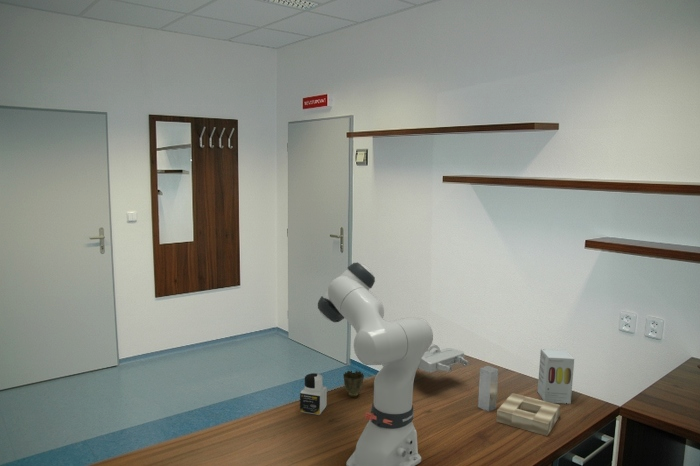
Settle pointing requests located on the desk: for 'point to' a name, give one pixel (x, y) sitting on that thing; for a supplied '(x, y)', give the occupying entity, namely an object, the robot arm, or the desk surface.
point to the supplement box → (555, 376)
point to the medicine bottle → (313, 395)
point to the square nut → (528, 414)
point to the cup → (353, 382)
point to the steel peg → (488, 388)
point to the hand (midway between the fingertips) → (458, 366)
